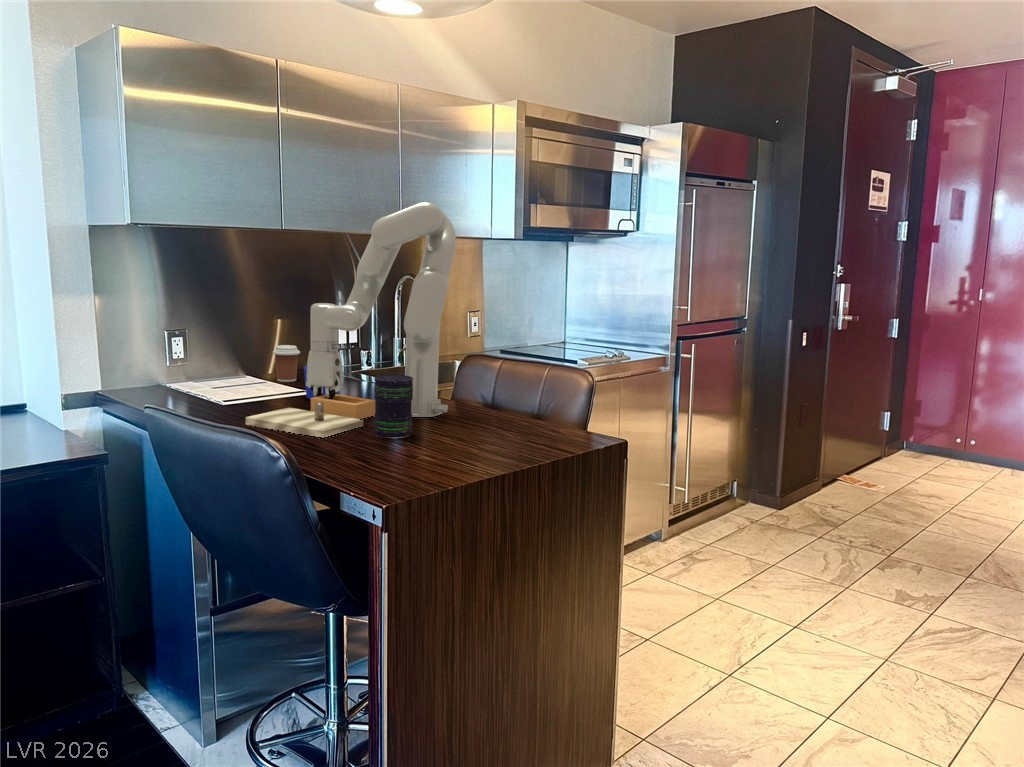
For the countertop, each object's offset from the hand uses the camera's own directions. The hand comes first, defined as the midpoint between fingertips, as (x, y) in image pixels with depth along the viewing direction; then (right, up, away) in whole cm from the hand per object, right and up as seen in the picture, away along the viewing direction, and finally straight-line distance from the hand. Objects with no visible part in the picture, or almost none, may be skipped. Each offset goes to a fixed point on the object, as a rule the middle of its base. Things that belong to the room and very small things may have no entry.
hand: (324, 409), depth 219 cm
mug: (-4, +2, +18) cm, 18 cm away
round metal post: (+4, -2, -20) cm, 20 cm away
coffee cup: (-25, +8, +48) cm, 54 cm away
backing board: (0, -4, -18) cm, 19 cm away
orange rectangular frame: (+6, -1, -3) cm, 7 cm away
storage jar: (+24, -6, -23) cm, 34 cm away
